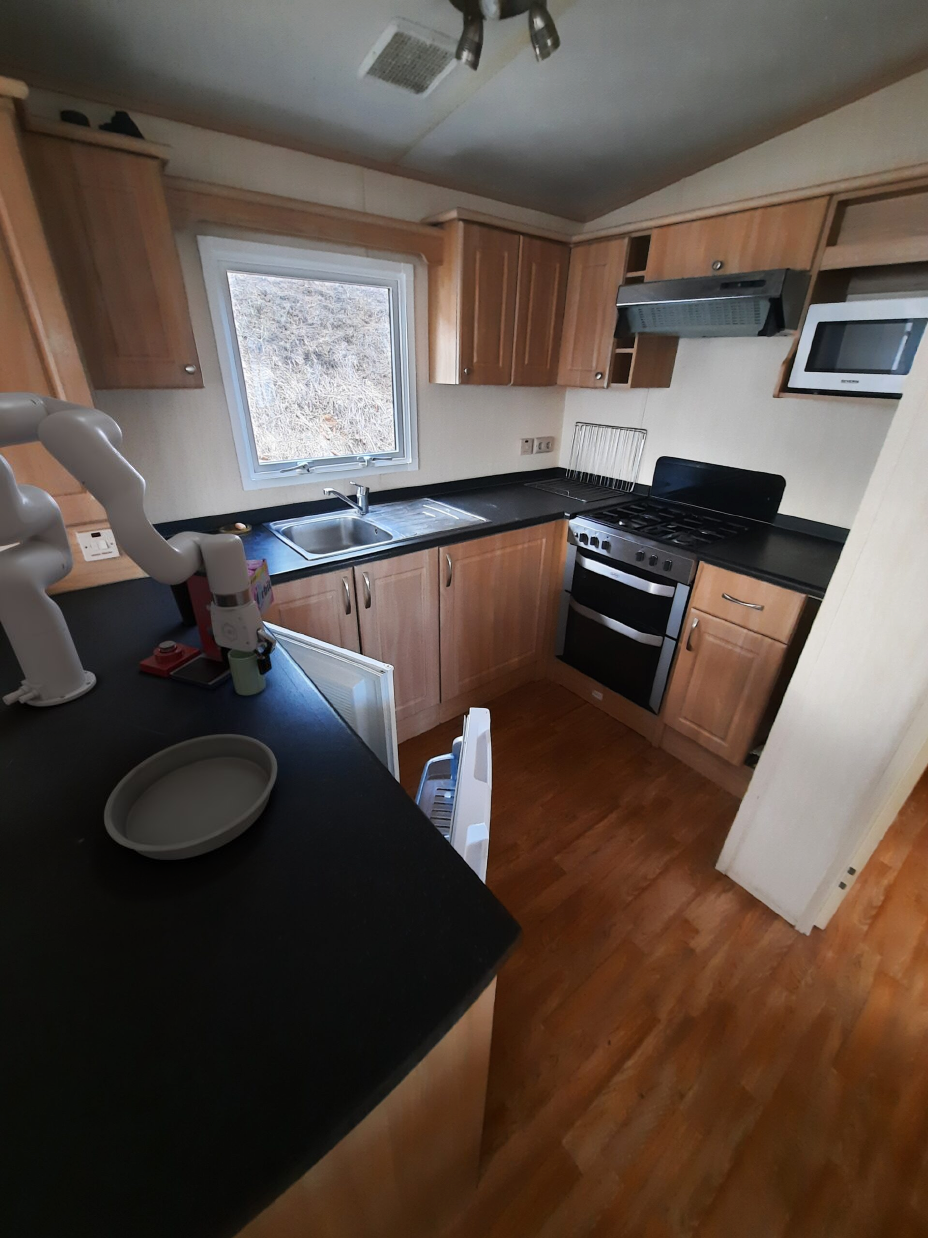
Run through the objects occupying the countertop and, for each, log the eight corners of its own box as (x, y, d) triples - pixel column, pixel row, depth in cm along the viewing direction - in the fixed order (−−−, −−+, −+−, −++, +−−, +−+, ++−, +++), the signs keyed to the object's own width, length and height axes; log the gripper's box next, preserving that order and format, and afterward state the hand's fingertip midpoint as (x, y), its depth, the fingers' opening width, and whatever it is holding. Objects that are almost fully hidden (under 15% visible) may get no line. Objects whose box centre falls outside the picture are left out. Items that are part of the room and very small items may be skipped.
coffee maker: (212, 690, 111) (189, 593, 101) (170, 678, 115) (143, 584, 105) (260, 657, 124) (243, 568, 114) (220, 648, 128) (200, 561, 117)
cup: (252, 698, 109) (245, 662, 105) (228, 691, 111) (220, 656, 107) (272, 682, 114) (266, 647, 110) (249, 676, 116) (242, 642, 112)
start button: (168, 655, 117) (166, 648, 116) (157, 652, 118) (155, 645, 117) (179, 648, 120) (177, 642, 119) (169, 646, 121) (167, 639, 120)
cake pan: (168, 750, 94) (162, 731, 92) (300, 755, 93) (297, 735, 91) (72, 868, 72) (61, 845, 70) (244, 875, 71) (238, 852, 69)
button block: (167, 677, 115) (163, 662, 113) (141, 670, 118) (136, 656, 116) (201, 657, 124) (198, 642, 122) (176, 651, 126) (173, 636, 124)
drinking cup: (196, 629, 136) (179, 558, 128) (171, 626, 138) (153, 556, 129) (214, 617, 143) (199, 549, 134) (190, 614, 145) (174, 547, 136)
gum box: (250, 598, 155) (242, 556, 149) (276, 598, 155) (269, 556, 149) (218, 635, 133) (208, 588, 127) (249, 635, 134) (240, 588, 128)
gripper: (184, 596, 102) (203, 668, 110) (254, 609, 97) (268, 684, 104) (213, 583, 108) (229, 652, 116) (279, 595, 103) (291, 666, 111)
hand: (247, 667), depth 110 cm, fingers open, 9 cm apart
